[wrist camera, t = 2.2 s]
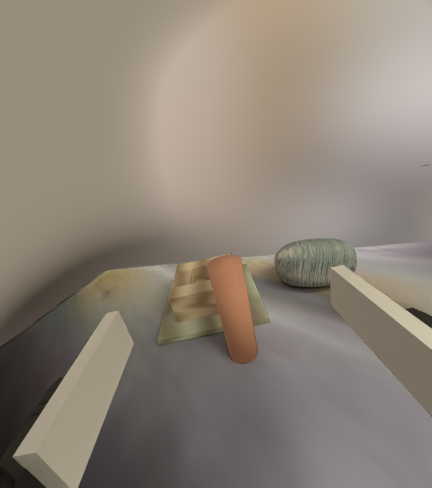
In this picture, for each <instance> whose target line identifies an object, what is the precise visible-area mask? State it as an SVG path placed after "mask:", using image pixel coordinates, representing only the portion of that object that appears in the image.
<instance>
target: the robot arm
mask: <svg viewBox="0 0 432 488" xmlns="http://www.w3.org/2000/svg"><path fill="white" fill-rule="evenodd" d="M330 305H331V306H332V307H333V308H334V309H335V310H336V311H337V312H338V313H339V315H340V316H341V317H342V318H343V319H344V320H345V321H346V322H347V323H348V325H349V326H350V327H351V328H352V329H353V330H354V331H355V332H356V333H357V334H358V336H359V337H360V338H361V339H362V340H363V341H364V342H365V343H366V344H367V346H368V347H369V348H370V349H371V350H372V351H373V352H374V353H375V354H376V355H377V357H378V358H379V359H380V360H381V361H382V362H383V363H384V364H385V365H386V367H387V368H388V369H389V370H390V371H391V372H392V373H393V374H394V375H395V376H396V378H397V379H398V380H399V381H400V382H401V383H402V384H403V385H404V386H405V388H406V389H407V390H408V391H409V392H410V393H411V394H412V395H413V396H414V398H415V399H416V400H417V401H418V402H419V403H420V404H421V405H422V406H423V407H424V409H425V410H426V411H427V412H428V413H429V414H430V415H431V416H432V317H431V316H430V315H428V314H426V313H424V312H421V311H419V310H417V309H414V308H409V309H404V308H402V307H401V306H400V305H398V304H397V303H395V302H394V301H393V300H391V299H390V298H388V297H387V296H386V295H384V294H383V293H382V292H380V291H379V290H377V289H376V288H375V287H373V286H372V285H370V284H369V283H368V282H366V281H365V280H364V279H362V278H361V277H359V276H358V275H357V274H355V273H354V272H352V271H351V270H350V269H348V268H347V267H345V266H344V265H340V266H336V267H331V280H330ZM133 345H134V342H133V340H132V338H131V336H130V334H129V332H128V330H127V328H126V325H125V323H124V321H123V319H122V317H121V315H120V313H119V311H114V312H109V313H106V314H105V316H104V318H103V319H102V321H101V322H100V324H99V325H98V327H97V328H96V330H95V331H94V333H93V334H92V336H91V337H90V339H89V340H88V342H87V344H86V345H85V347H84V348H83V350H82V351H81V353H80V354H79V356H78V357H77V359H76V360H75V362H74V363H73V365H72V366H71V368H70V370H69V371H68V373H67V374H66V376H65V377H63V378H59V379H58V380H57V381H56V382H55V383H54V384H53V385H52V386H51V387H50V388H49V389H48V390H47V392H46V393H45V395H44V396H43V398H42V399H41V401H40V402H39V405H38V406H36V408H35V409H34V411H33V412H32V414H31V417H29V418H28V419H27V421H26V422H25V424H24V425H23V427H22V428H21V430H20V431H19V432H18V434H17V435H16V437H15V438H14V440H13V441H12V443H11V444H10V446H9V447H8V448H7V450H6V451H5V453H4V454H3V456H2V457H1V459H0V488H78V486H79V484H80V481H81V478H82V476H83V473H84V471H85V468H86V466H87V463H88V460H89V458H90V455H91V453H92V450H93V448H94V445H95V442H96V440H97V437H98V435H99V432H100V430H101V427H102V424H103V422H104V419H105V417H106V414H107V412H108V409H109V406H110V404H111V401H112V399H113V396H114V394H115V391H116V388H117V386H118V383H119V381H120V378H121V376H122V373H123V370H124V368H125V365H126V363H127V360H128V358H129V355H130V352H131V350H132V347H133Z"/></svg>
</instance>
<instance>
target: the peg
mask: <svg viewBox="0 0 432 488" xmlns="http://www.w3.org/2000/svg"><path fill="white" fill-rule="evenodd" d="M207 270H208V274H209V278H210V281H211V285H212V289H213V293H214V297H215V301H216V305H217V308H218V312H219V316H220V320H221V324H222V328H223V332H224V335H225V339H226V343H227V347H228V351H229V355H230V357H231V358H232V360H233V361H235V362H237V363H241V364H244V363H249V362H251V361H252V360H253V359H254V358H255V357H256V355H257V352H258V349H257V343H256V338H255V332H254V327H253V321H252V316H251V311H250V305H249V300H248V294H247V289H246V284H245V278H244V273H243V267H242V262H241V258H240V257H238V256H235V255H223V256H219V257H216V258H214V259H212V260H211V261H210V262H209V263H208V264H207Z"/></svg>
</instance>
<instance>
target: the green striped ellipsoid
mask: <svg viewBox="0 0 432 488" xmlns="http://www.w3.org/2000/svg"><path fill="white" fill-rule="evenodd" d="M356 264H357V258H356V253H355V250H354V249H353V247H352V246H351V245H349V244H348V243H347V242H345V241H342V240H337V239H308V240H300V241H296V242H292V243H289V244H287V245H285V246H284V247H282V248H281V249H280V250H279V251H278V252H277V254H276V256H275V268H276V271H277V274H278V276H279V277H280V279H281V280H282V281H284V282H285V283H288V284H290V285H293V286H299V287H322V286H330V280H331V267H336V266H340V265H344V266H345V267H347V268H348V269H350V270H351V271H352V272H354V271H355V268H356Z"/></svg>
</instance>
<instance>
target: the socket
mask: <svg viewBox="0 0 432 488" xmlns="http://www.w3.org/2000/svg"><path fill="white" fill-rule="evenodd" d="M226 255H232V253H231V254H226ZM222 256H223V255H222ZM217 257H219V256H217ZM214 258H216V257H213V258H208V259H203V260H199V261H194V262H189V263H185V264H180V265H178V266H177V270H176V274H175V278H174V280H173V281H172V285H171V288H170V292H169V296H168V300H167V304H166V307H165V311H164V315H163V319H162V323H161V326H160V330H159V334H158V338H157V342H158V345H162V344H167V343H172V342H177V341H181V340H186V339H191V338H196V337H201V336H206V335H210V334H215V333H220V332H223V328H222V324H221V320H220V316H219V312H218V308H217V305H216V301H215V297H214V293H213V289H212V285H211V281H210V278H209V274H208V270H207V264H208V263H209V262H210V261H211V260H212V259H214ZM242 267H243V273H244V278H245V284H246V289H247V294H248V300H249V305H250V311H251V316H252V321H253V326H254V325H259V324H264V323H268V322H270V320H269V316H268V314H267V311H266V309H265V307H264V304H263V302H262V299H261V297H260V295H259V292H258V290H257V288H256V285H255V283H254V281H253V278H252V276H251V274H250V271H249V269H248V266H247V264H245V265H242Z"/></svg>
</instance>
